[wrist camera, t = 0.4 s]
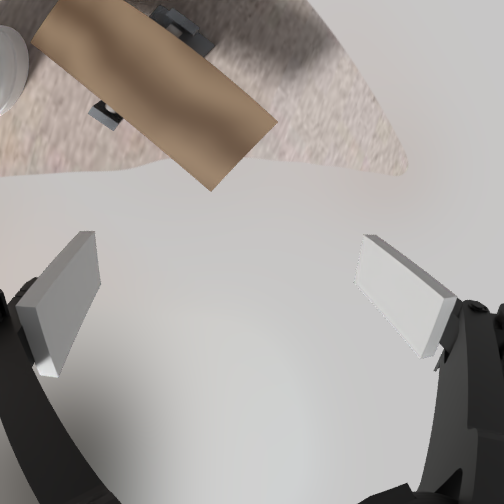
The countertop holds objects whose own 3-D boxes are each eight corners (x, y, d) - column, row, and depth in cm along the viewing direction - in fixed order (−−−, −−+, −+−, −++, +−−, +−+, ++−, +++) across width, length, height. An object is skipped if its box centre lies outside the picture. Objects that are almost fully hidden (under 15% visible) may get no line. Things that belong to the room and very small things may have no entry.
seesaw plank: (94, -25, 18) (83, -31, 17) (281, 115, 26) (283, 116, 24) (39, 48, 22) (27, 47, 20) (210, 189, 29) (206, 196, 27)
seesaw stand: (161, 5, 26) (150, -8, 18) (214, 45, 30) (222, 45, 22) (96, 84, 30) (67, 99, 22) (148, 120, 34) (135, 146, 26)
